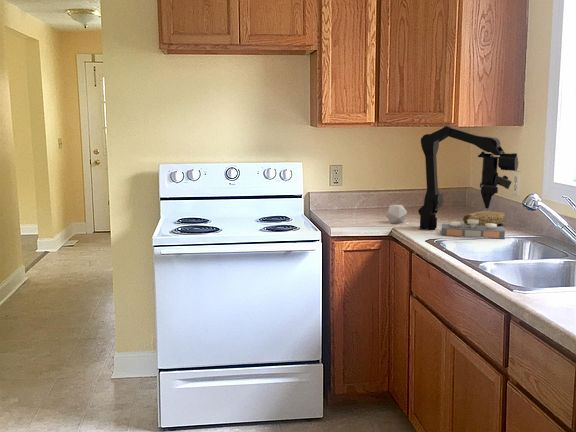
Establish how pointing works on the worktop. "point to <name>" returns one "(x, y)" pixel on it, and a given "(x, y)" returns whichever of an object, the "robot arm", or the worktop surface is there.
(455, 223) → the button left
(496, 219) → the sponge
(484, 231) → the board
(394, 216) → the die
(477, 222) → the button middle
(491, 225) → the button right
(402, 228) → the worktop surface
